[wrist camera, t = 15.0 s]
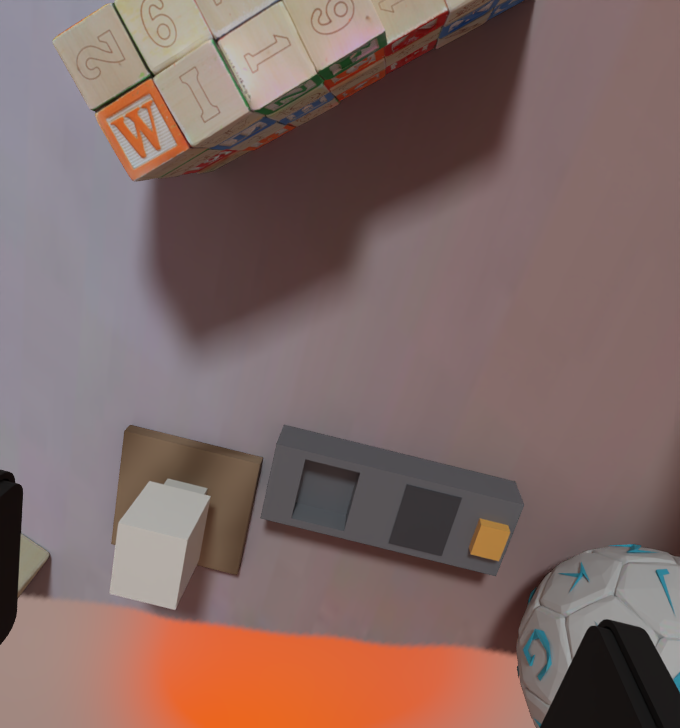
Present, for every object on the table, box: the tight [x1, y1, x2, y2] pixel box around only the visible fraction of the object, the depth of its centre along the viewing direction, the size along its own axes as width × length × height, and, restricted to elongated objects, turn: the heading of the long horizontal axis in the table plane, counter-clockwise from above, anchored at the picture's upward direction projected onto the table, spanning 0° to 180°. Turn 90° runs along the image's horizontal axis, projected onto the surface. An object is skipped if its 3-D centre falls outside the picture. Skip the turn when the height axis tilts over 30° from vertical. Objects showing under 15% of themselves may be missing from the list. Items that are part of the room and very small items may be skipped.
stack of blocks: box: [52, 0, 524, 181], centre depth 28 cm, size 21×6×12 cm, turn 117°
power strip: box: [261, 425, 524, 576], centre depth 41 cm, size 17×6×4 cm, turn 77°
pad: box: [111, 425, 263, 575], centre depth 44 cm, size 10×10×1 cm
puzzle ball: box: [516, 544, 680, 728], centre depth 37 cm, size 15×15×15 cm
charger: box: [110, 479, 211, 610], centre depth 41 cm, size 4×6×7 cm
